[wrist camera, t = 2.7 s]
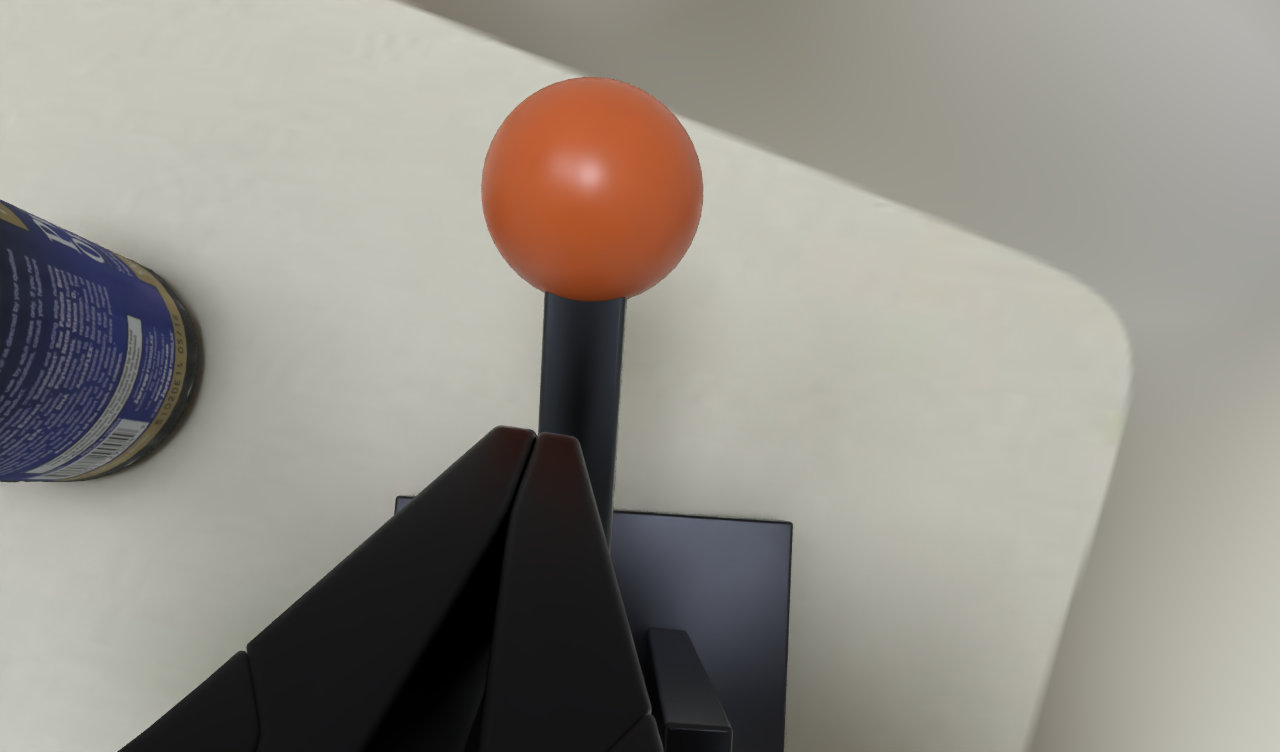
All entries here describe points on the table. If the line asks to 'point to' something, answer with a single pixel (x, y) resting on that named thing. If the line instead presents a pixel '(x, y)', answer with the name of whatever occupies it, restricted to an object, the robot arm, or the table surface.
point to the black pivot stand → (704, 625)
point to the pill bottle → (84, 355)
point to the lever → (590, 240)
